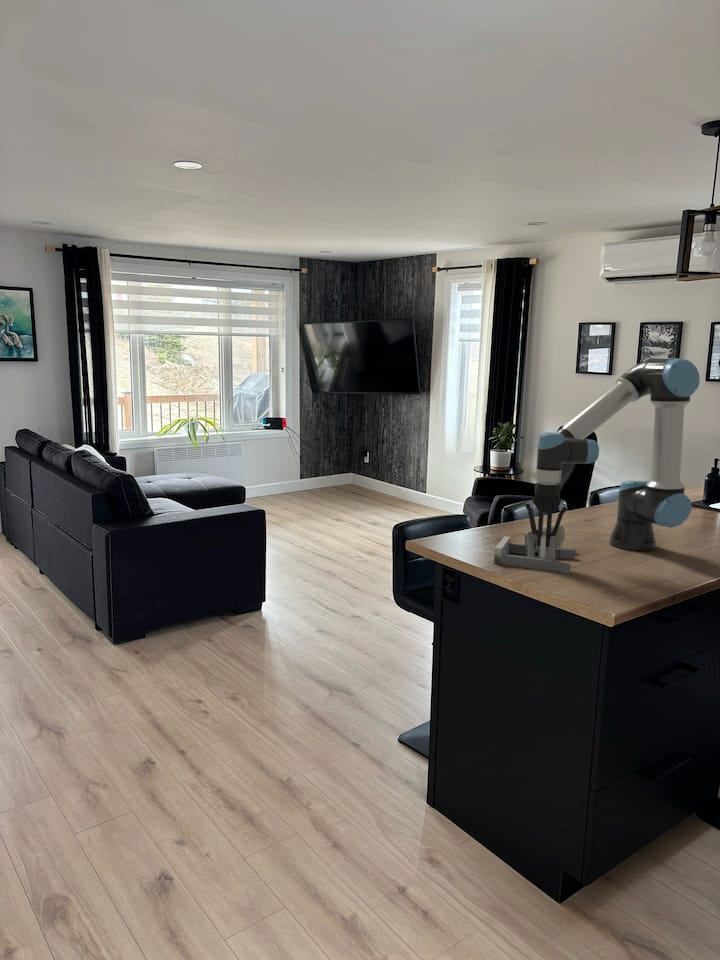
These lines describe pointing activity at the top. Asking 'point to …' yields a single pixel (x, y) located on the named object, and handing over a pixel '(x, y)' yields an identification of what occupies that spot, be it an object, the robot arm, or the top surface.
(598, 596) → the top surface
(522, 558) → the rail channel
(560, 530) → the decorative object
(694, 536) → the top surface
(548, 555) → the electrical switch
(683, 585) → the top surface
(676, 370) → the robot arm
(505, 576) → the top surface
